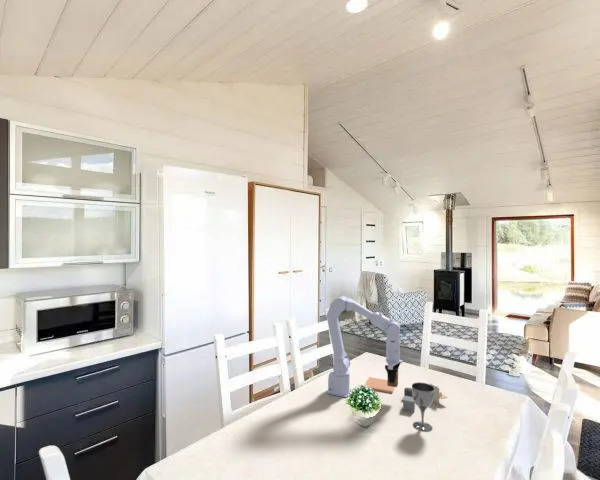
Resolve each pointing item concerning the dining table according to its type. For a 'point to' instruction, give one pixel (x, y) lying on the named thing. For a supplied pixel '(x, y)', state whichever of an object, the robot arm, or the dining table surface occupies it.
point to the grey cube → (408, 404)
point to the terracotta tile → (379, 385)
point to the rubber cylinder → (408, 392)
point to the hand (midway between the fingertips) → (392, 380)
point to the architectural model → (437, 394)
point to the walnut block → (394, 382)
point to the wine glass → (422, 403)
